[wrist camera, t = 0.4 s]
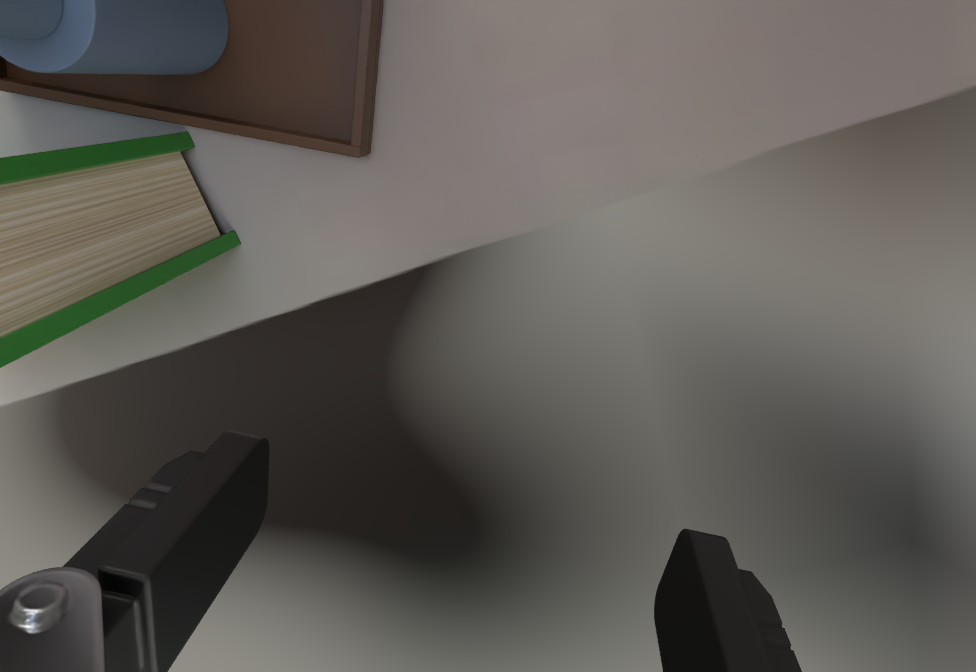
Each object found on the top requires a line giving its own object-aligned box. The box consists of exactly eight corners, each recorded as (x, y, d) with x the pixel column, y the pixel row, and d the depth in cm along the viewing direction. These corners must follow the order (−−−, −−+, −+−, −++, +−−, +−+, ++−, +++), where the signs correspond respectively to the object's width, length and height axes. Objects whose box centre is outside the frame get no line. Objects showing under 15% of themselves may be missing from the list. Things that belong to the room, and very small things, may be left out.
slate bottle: (124, -52, 34) (-212, -154, 19) (228, -33, 33) (-28, -122, 19) (131, 65, 36) (-161, 55, 21) (229, 83, 36) (2, 85, 21)
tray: (-23, -132, 33) (-60, -145, 31) (388, -59, 33) (377, -68, 31) (8, 85, 38) (-23, 86, 36) (370, 153, 37) (359, 158, 35)
